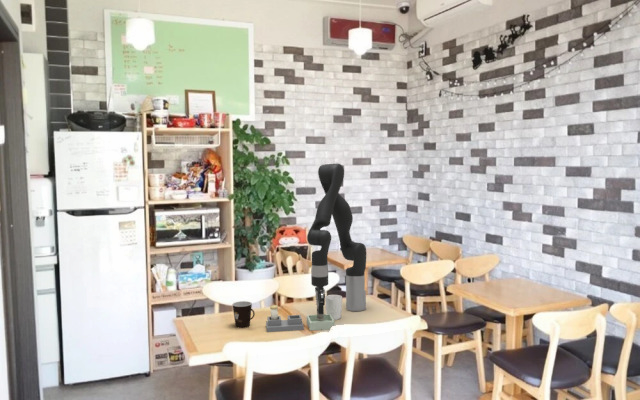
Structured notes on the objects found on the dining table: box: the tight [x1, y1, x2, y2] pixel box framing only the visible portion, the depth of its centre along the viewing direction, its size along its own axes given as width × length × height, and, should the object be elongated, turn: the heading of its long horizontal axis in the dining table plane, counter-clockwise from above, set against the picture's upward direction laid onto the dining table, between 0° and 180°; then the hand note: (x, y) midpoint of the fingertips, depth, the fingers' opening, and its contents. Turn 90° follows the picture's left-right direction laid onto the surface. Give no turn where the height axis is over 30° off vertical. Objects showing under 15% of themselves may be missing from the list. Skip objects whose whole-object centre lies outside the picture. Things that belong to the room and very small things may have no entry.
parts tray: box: [306, 313, 336, 331], centre depth 234 cm, size 11×11×4 cm
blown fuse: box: [315, 301, 325, 321], centre depth 233 cm, size 3×3×8 cm
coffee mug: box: [232, 300, 256, 329], centre depth 234 cm, size 12×9×10 cm
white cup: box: [325, 294, 343, 321], centre depth 245 cm, size 8×8×10 cm
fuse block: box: [265, 314, 305, 333], centre depth 232 cm, size 16×9×4 cm, turn 99°
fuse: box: [269, 304, 279, 320], centre depth 231 cm, size 3×3×8 cm
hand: (320, 312), depth 233 cm, fingers open, 3 cm apart
